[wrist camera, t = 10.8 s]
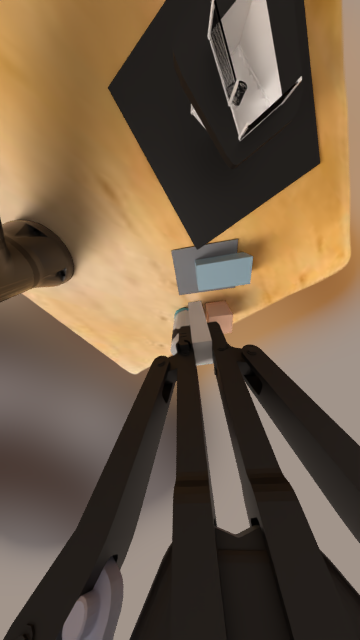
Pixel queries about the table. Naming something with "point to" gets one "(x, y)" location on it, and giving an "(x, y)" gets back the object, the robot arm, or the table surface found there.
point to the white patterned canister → (179, 321)
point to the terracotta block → (220, 315)
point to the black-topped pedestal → (222, 106)
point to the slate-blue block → (223, 271)
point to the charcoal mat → (186, 263)
